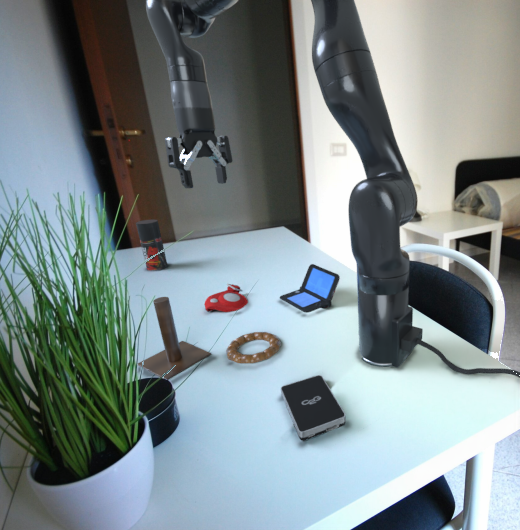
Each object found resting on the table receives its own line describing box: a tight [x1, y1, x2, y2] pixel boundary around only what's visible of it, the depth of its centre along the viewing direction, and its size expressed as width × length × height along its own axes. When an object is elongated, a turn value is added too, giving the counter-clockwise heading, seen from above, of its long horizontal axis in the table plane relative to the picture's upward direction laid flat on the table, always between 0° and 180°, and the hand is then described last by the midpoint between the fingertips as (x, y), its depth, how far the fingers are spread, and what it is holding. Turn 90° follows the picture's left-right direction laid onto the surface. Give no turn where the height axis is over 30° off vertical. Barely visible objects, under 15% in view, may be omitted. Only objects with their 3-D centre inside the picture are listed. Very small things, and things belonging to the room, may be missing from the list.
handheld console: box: [279, 263, 341, 314], centre depth 91 cm, size 12×11×7 cm
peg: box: [137, 296, 212, 380], centre depth 66 cm, size 9×9×13 cm
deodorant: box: [135, 219, 168, 271], centre depth 116 cm, size 6×6×15 cm
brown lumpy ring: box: [225, 331, 282, 364], centre depth 71 cm, size 10×10×2 cm
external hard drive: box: [280, 374, 347, 442], centre depth 56 cm, size 7×11×2 cm, turn 26°
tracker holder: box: [203, 283, 249, 313], centre depth 91 cm, size 12×4×10 cm
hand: (206, 185), depth 82 cm, fingers open, 8 cm apart
